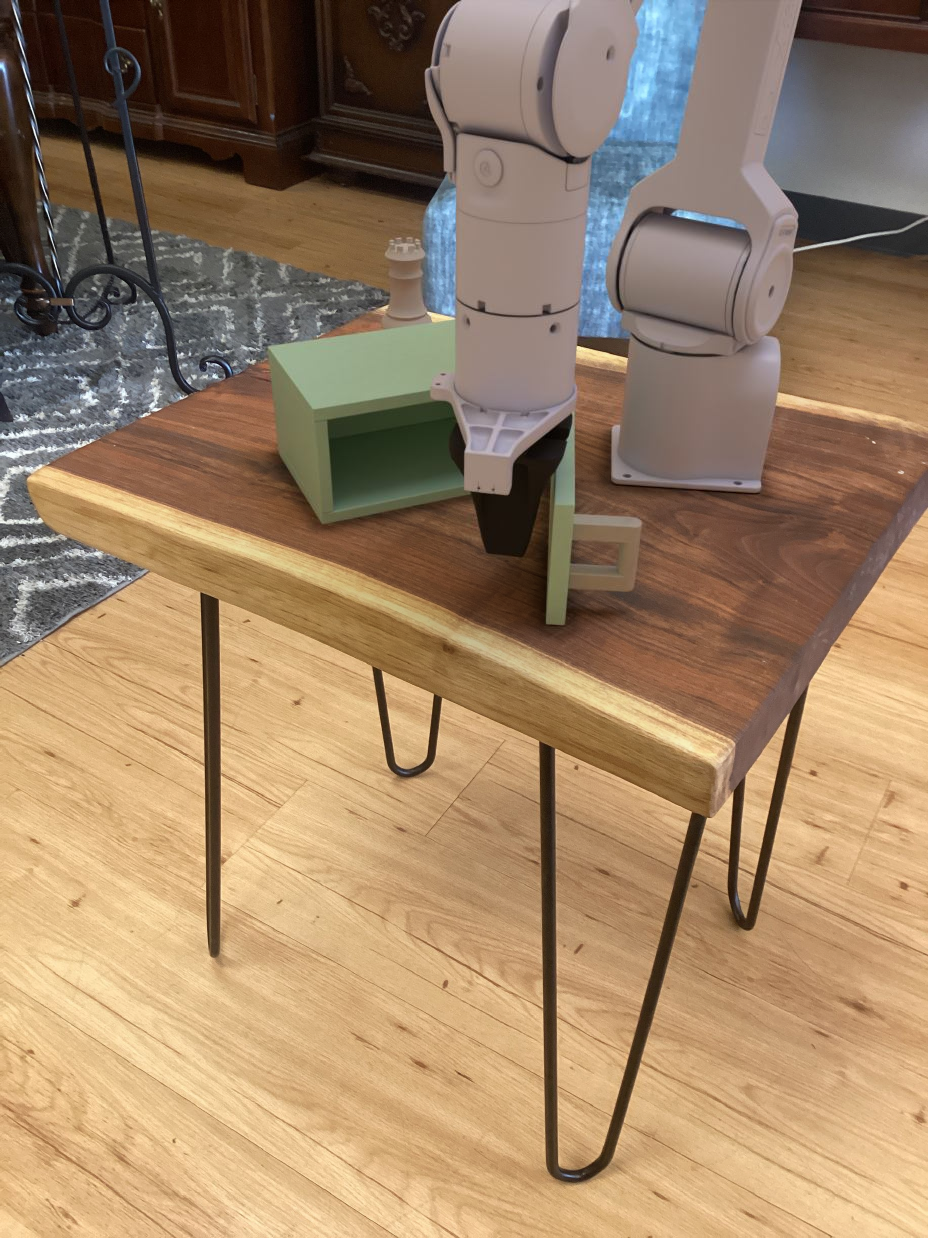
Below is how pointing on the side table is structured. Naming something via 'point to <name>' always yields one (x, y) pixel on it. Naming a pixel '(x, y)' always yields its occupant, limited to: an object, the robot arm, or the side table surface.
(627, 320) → the robot arm
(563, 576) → the door
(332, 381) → the cabinet
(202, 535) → the side table surface
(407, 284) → the rook chess piece
